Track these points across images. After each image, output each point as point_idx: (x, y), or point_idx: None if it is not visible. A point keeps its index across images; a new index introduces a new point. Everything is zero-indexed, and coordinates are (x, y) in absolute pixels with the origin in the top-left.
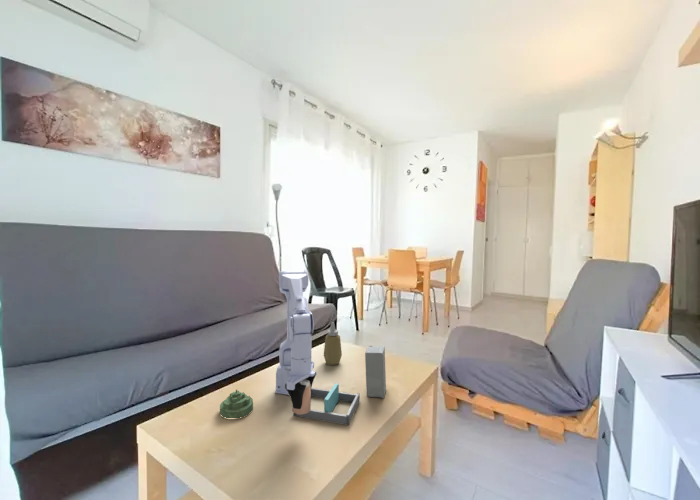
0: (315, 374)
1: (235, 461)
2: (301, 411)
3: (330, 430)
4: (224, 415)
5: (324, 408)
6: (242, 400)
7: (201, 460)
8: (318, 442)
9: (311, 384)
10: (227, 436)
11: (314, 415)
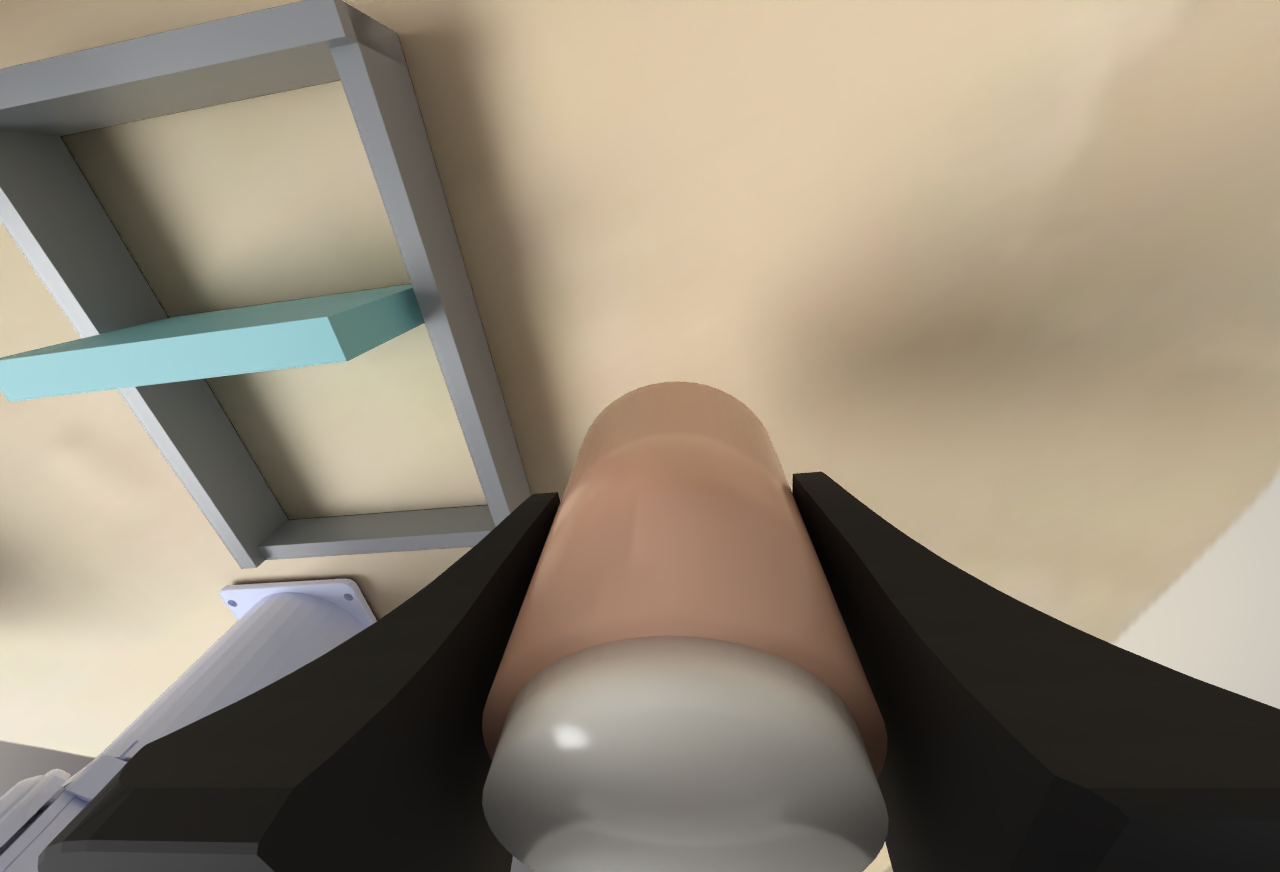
0: (162, 820)
1: (1016, 571)
2: (771, 447)
3: (553, 179)
4: None
5: (402, 331)
6: None
7: None
8: (733, 200)
9: (442, 612)
10: None
11: (486, 385)
